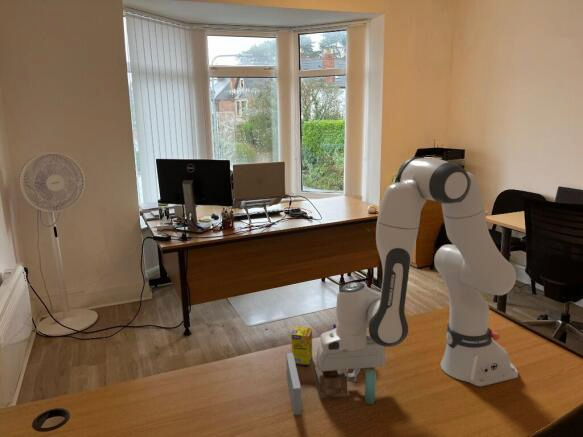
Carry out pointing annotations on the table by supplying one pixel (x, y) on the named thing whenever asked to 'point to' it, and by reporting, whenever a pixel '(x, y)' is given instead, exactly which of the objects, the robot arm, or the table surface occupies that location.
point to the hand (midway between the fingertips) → (350, 380)
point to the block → (330, 383)
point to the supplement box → (302, 346)
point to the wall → (293, 384)
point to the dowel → (370, 386)
